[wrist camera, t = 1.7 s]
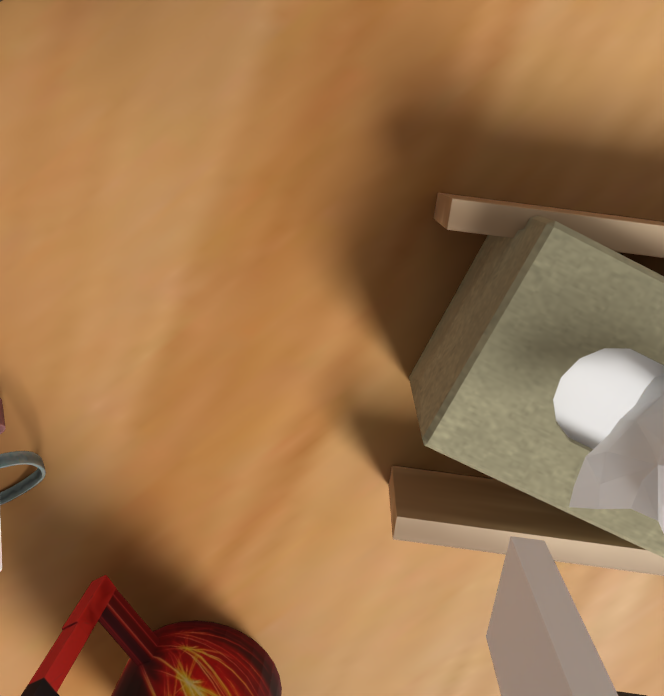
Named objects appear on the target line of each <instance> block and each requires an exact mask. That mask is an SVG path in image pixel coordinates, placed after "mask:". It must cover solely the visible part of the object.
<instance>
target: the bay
mask: <svg viewBox="0 0 664 696" xmlns="http://www.w3.org/2000/svg"><path fill="white" fill-rule="evenodd" d="M537 215H538V216H541V217H545V218H548V219H551V220H554V221H557V222H559V223H561V224H563V225H564V226H566V227H568V228H570V229H572V230H574V231H576V232H578V233H580V234H582V235H584V236H586V237H588V238H590V239H592V240H594V241H596V242H598V243H600V244H601V245H603V246H605V247H607V248H609V249H611V250H613V251H615V252H623V253H631V254H638V255H646V256H654V257H662V258H664V222H661V221H653V220H646V219H638V218H630V217H623V216H615V215H607V214H599V213H592V212H584V211H576V210H569V209H561V208H553V207H545V206H538V205H530V204H522V203H515V202H507V201H499V200H491V199H484V198H476V197H468V196H461V195H453V194H445V193H438V195H437V200H436V206H435V212H434V218H433V219H435V220H436V221H437V222H438V223H440V224H441V225H442V226H443V227H445V228H446V229H447V230H454V231H462V232H469V233H477V234H485V235H493V236H500V237H508V238H514V236H515V235H516V233H517V231H518V230H521V229H524V228H525V226H526V224H527V222H528V221H529V219H530V218H531V217H534V216H537ZM389 496H390V509H391V522H392V534H393V539H395V540H402V541H410V542H417V543H424V544H432V545H439V546H447V547H454V548H461V549H469V550H476V551H483V552H491V553H498V554H506V552H507V548H508V544H509V540H510V536H514V537H521V538H528V539H536V540H543V541H545V543H546V545H547V547H548V549H549V551H550V553H551V555H552V558H553V560H554V561H557V562H565V563H572V564H580V565H587V566H594V567H602V568H609V569H617V570H624V571H631V572H639V573H646V574H654V575H661V576H664V558H663V557H661V556H659V555H657V554H654V553H652V552H650V551H648V550H646V549H644V548H642V547H640V546H637V545H635V544H633V543H631V542H629V541H627V540H625V539H622V538H620V537H618V536H616V535H614V534H612V533H610V532H608V531H605V530H603V529H601V528H599V527H597V526H595V525H593V524H591V523H588V522H586V521H584V520H582V519H580V518H578V517H576V516H573V515H571V514H569V513H567V512H565V511H563V510H561V509H559V508H556V507H554V506H552V505H550V504H548V503H546V502H544V501H542V500H539V499H537V498H535V497H533V496H531V495H529V494H527V493H525V492H522V491H520V490H518V489H516V488H514V487H512V486H510V485H507V484H505V483H503V482H501V481H499V480H497V479H489V478H482V477H474V476H467V475H459V474H452V473H444V472H437V471H429V470H422V469H414V468H407V467H399V466H392V468H391V474H390V480H389Z"/></svg>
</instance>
